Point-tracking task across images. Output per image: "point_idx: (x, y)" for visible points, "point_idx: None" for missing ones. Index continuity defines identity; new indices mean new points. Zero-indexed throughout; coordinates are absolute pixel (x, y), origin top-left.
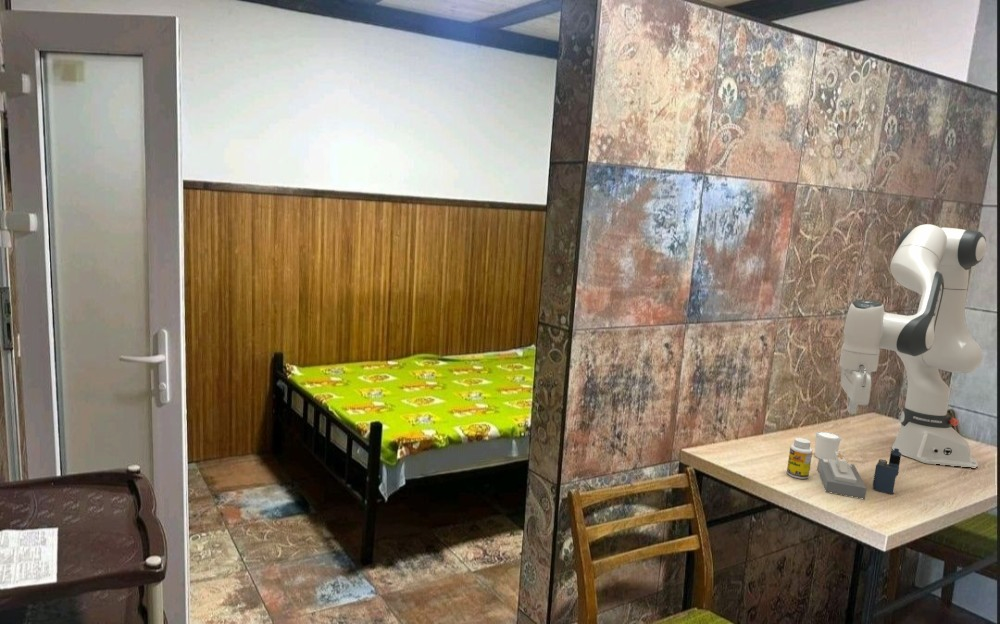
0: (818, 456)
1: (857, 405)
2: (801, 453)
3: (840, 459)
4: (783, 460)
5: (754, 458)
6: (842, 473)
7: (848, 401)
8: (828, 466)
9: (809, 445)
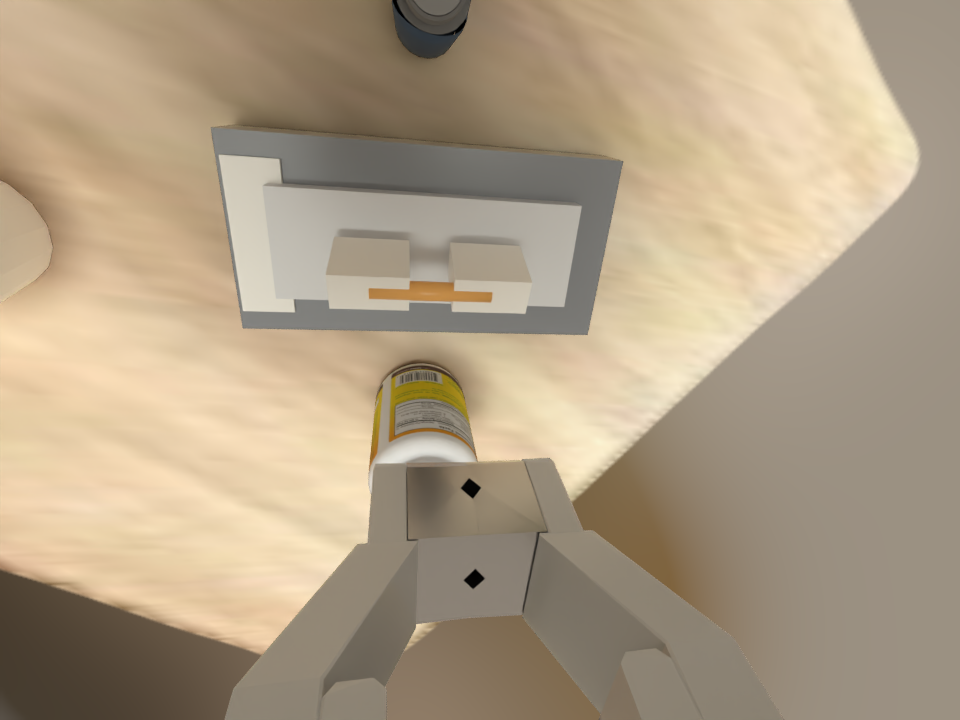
0: (35, 277)
1: (643, 580)
2: None
3: (495, 304)
4: (240, 435)
5: (299, 525)
6: None
7: (384, 682)
8: None
9: None
